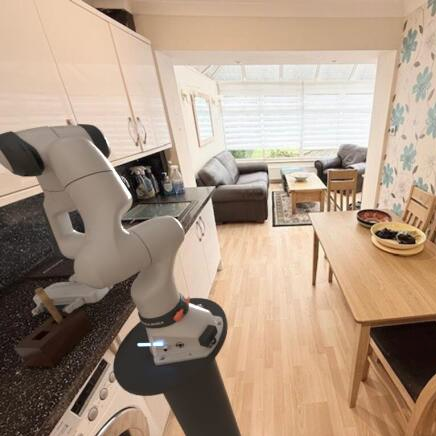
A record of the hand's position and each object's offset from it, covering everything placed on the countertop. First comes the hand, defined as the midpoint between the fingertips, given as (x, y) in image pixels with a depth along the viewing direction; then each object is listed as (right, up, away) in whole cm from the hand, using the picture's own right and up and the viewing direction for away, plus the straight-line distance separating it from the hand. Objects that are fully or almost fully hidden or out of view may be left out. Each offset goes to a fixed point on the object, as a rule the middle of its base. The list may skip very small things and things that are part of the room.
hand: (50, 312), depth 70 cm
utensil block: (+1, -11, +4) cm, 12 cm away
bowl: (-14, -4, +22) cm, 26 cm away
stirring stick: (+1, -10, +6) cm, 12 cm away
